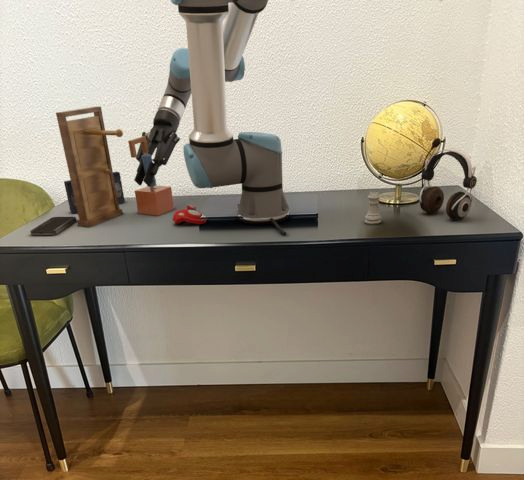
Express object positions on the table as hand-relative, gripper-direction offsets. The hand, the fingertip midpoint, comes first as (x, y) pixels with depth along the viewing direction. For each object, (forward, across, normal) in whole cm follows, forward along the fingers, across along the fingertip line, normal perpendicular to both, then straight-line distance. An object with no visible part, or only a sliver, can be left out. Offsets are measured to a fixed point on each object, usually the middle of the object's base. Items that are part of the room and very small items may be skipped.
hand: (142, 183), depth 161 cm
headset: (-12, -84, -26) cm, 88 cm away
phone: (+22, +18, +8) cm, 29 cm away
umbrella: (+5, 0, -8) cm, 10 cm away
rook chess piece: (-4, -67, -18) cm, 70 cm away
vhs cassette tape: (+6, +22, -8) cm, 24 cm away
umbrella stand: (+4, 0, -10) cm, 11 cm away
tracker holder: (+7, -18, -6) cm, 20 cm away
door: (+13, +4, 0) cm, 14 cm away
